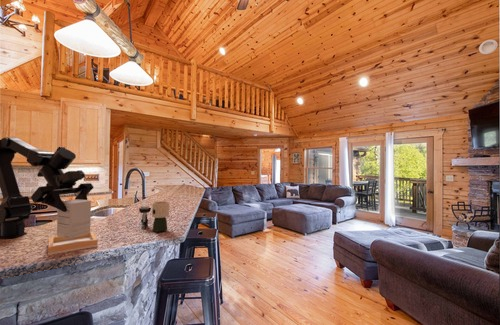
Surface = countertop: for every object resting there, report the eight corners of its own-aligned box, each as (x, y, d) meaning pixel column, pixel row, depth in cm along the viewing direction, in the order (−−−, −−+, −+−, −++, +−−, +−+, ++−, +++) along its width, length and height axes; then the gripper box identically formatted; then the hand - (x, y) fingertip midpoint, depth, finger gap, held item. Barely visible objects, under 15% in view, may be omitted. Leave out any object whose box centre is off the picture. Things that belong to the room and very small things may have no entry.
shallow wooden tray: (48, 255, 73) (48, 247, 73) (48, 243, 83) (49, 237, 83) (97, 246, 82) (97, 239, 82) (92, 236, 92) (93, 230, 92)
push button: (149, 229, 104) (150, 207, 105) (136, 229, 103) (137, 208, 103) (150, 225, 111) (151, 205, 111) (139, 226, 109) (139, 205, 109)
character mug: (151, 228, 105) (152, 201, 106) (167, 227, 108) (168, 200, 108) (151, 235, 95) (152, 204, 96) (169, 233, 98) (170, 204, 99)
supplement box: (77, 230, 87) (78, 198, 87) (90, 233, 85) (91, 200, 85) (55, 236, 80) (56, 201, 80) (69, 239, 78) (70, 203, 78)
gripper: (39, 162, 75) (62, 198, 72) (91, 163, 93) (111, 191, 90) (20, 184, 76) (43, 220, 74) (75, 181, 95) (95, 209, 92)
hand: (77, 209), depth 82 cm, fingers closed on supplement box, 7 cm apart
